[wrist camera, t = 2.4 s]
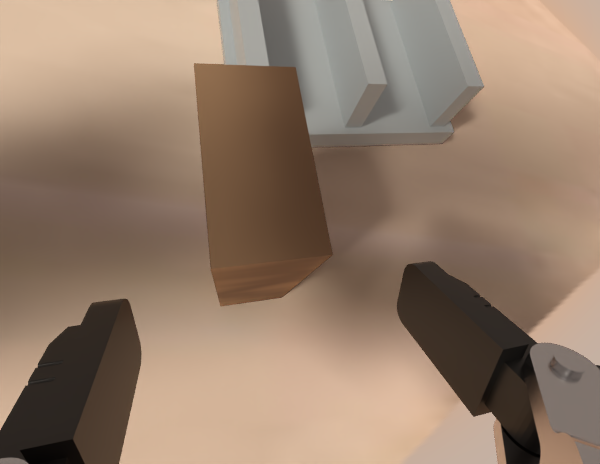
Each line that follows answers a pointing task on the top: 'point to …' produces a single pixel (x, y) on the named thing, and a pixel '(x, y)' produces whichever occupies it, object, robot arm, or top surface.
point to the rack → (360, 64)
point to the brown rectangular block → (258, 181)
